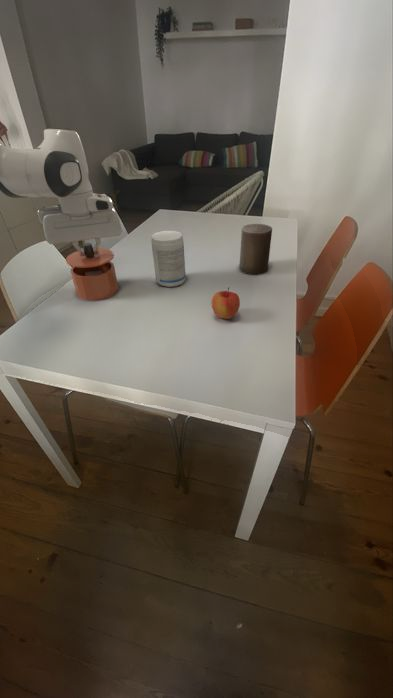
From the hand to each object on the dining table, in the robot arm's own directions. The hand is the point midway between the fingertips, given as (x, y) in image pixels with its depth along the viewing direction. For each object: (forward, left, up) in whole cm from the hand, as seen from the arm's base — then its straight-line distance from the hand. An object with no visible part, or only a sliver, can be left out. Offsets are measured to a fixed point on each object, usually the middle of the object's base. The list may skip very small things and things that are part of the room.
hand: (89, 254), depth 91 cm
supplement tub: (+23, -2, -12) cm, 26 cm away
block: (0, 0, -11) cm, 11 cm away
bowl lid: (0, 0, -1) cm, 1 cm away
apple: (+31, -28, -12) cm, 43 cm away
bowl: (0, 0, -12) cm, 12 cm away
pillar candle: (+52, -3, -12) cm, 53 cm away
